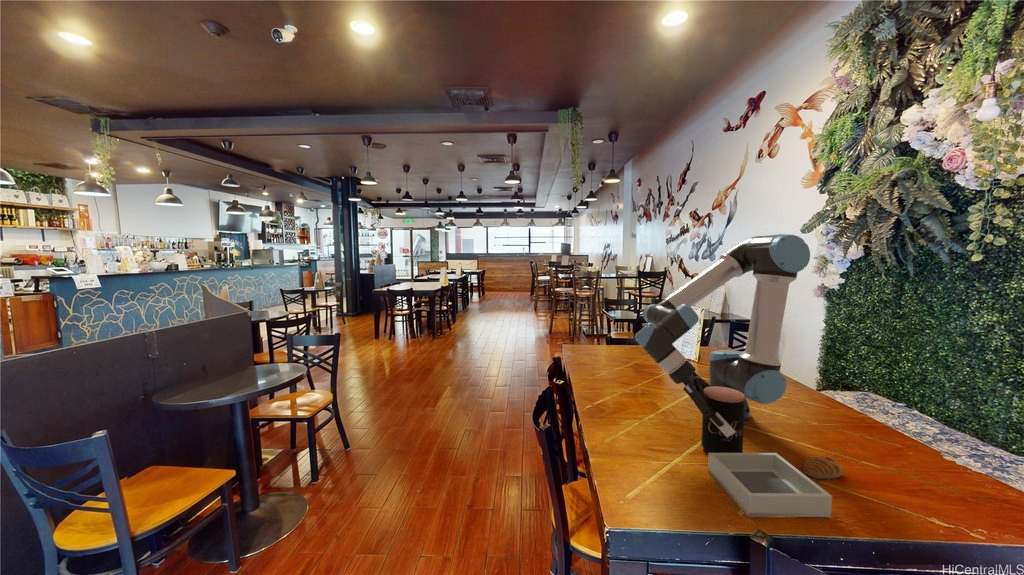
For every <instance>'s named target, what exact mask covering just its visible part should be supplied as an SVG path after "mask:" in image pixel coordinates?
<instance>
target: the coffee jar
mask: <svg viewBox="0 0 1024 575" xmlns="http://www.w3.org/2000/svg"><path fill="white" fill-rule="evenodd" d="M703 391H704V394H705V397H706V398H707V400H708V401H709V403H710V404H711V406H712V407H713V409H714V411H715V412H718V413H719V414H720V416H721V417H722V418H723V419H724V420H725V421H726V422H727V423H728V424H729V425H730V426H731V427H732V428H733V429H734V430H735V431H736V433H734V434H732V435H731V436H729V437H726V436H725V435H724V434H723V432H722V431H721V430H720V429H719V428H718V427H717V426H716V425H715V424H714V423H713V422H712V421H711V420H710V418H709V419H707V420H706V419H705V418H704V416H703V415H702V417H701V419H702V421H701V422H702V424H701V425H702V426H701V446H702V447H703V450H704V451H705V452H706V453H707V454H708V453H744V452H743V450H744V430H745V424H744V423H745V421H744V408H745V405H744V402H743V400H745V395H744V394H743V393H742V392H740V391H738V390H735V389H731V388H727V387H719V386H711V387H706V388H704V390H703ZM708 412H709V411H708Z"/></svg>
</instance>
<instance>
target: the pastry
mask: <svg viewBox="0 0 1024 575" xmlns="http://www.w3.org/2000/svg"><path fill="white" fill-rule="evenodd" d="M802 473H803V474H804V475H806V476H809V477H812V478H814V479H816V480H831V478H832V479H836V478H839V477H841V476H842V475H843V474H844V471H843V469H842V467H841V466H840V465H839V462H838V461H837V460H836V459H834V458H833V457H830V456H824V455H819V456H817V457H815V456H814V457H811V458H809V459H807V460H806V461H805V462H804V464H803V466H802Z"/></svg>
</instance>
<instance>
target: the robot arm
mask: <svg viewBox="0 0 1024 575" xmlns="http://www.w3.org/2000/svg"><path fill="white" fill-rule="evenodd" d="M718 259H719V260H718V261H717V262H714V263H713V264H712V265H710V266H709V267H708V268H706V269H705V270H704V271H702V272H701V273H699V274H698V275H696V276H695V277H694V278H692V279H691V280H690V281H688V282H687V283H686V284H684V285H682V286H680V287H679V288H678V289H677V290H676V291H674V292H672V293H671V294H670V295H668V296H667V297H665V298H664V299H663V300H661V301H660V302H658V303H657V304H656V303H653V304H652V303H651V304H649V305H647V306H646V307H645V309H644V310H643V319H644V321H645V322H646V323H647V324H646V325H645V326H643V327H642V328H641V329H640V330H639V331H638V332H636V333H635V335H634V339H635V341H636V342H637V343H638V345H639V346H640V347H641V348H642V350H644V351H645V353H647V354H648V356H649V357H651V358H652V359H653V361H655V363H656V364H657V365H658V369H662V370H663V371H664V372H665V374H668V377H669V378H670V379H671V380H672V381H673V382H674V384H675V385H679V384H683V385H684V387H683V388H682V389H683V391H684V392H685V393H686V394H687V395H688V396H689V397H690V399H691V401H692V402H693V403H694V405H695V406H696V407H697V409H698V410H699V412H700V413H701V414H702V416H704V418H705V419H706V420H707V419H709V418H710V420H711V421H712V422H713V423H714V424H715V425H716V426H717V427H718V428H719V429H720V430H721V431H722V432H723V434H724V435H725V436H726V437H729V436H731V435H732V434H734V433H736V431H735V430H734V429H733V428H732V427H731V426H730V425H729V424H728V423H727V422H726V421H725V420H724V419H723V418H722V417H721V416H720V414H719V413H718V412H715V411H714V409H713V407H712V406H711V404H710V403H709V401H708V400H707V398H706V397H705V394H704V391H703V390H704V388H706V387H711V386H719V387H727V388H731V389H735V390H738V391H740V392H742V393H743V394H744V395H745V400H743V402H744V405H745V408H744V422H745V421H747V420H749V419H750V418H751V408H750V405H749V403H748V400H750V401H752V402H755V403H758V404H761V405H768V404H769V405H770V404H772V403H775V402H777V400H780V399H781V398H782V397H783V396H784V395H785V393H786V390H787V388H788V382H787V378H786V377H785V375H784V374H783V373H782V372H780V371H781V366H782V363H781V362H780V361H779V359H778V358H777V354H778V350H779V343H780V340H781V339H780V337H781V334H782V328H783V322H784V316H785V310H786V305H787V299H788V293H789V288H790V284H791V283H793V282H794V281H796V280H797V277H798V273H799V272H801V271H803V270H804V269H805V268H807V266H808V265H809V263H810V259H811V251H810V247H809V245H808V244H807V242H805V240H804V239H803V238H802V237H800V236H798V235H795V234H784V233H783V234H781V233H779V234H771V235H759V236H758V235H755V236H752V237H749V238H747V239H745V240H743V241H741V242H739V243H737V244H735V245H734V246H732V247H731V248H729V249H728V250H727V251H725V252H724V253H723V254H721V255H720V256H719V258H718ZM749 272H752V276H753V277H754V278H755V279H756V284H755V291H754V296H753V303H752V307H751V308H752V309H751V314H750V320H749V326H748V332H747V338H746V343H745V350H744V351H739V350H732V349H731V350H730V349H729V350H728V349H727V350H726V349H723V350H722V349H720V350H714V351H711V353H710V354H709V369H708V370H709V372H708V373H709V374H708V382H706V381H705V380H704V379H703V378H702V377H700V376H699V375H698V374H697V372H696V367H695V366H694V365H693V364H692V363H691V362H690V361H689V360H686V356H685V355H683V354H682V353H681V352H680V351H679V349H677V348H676V347H675V346H674V343H675V342H677V340H679V339H680V338H681V337H682V336H684V335H685V334H686V333H688V332H689V331H691V329H693V327H694V326H695V325H696V324H697V323H698V322H699V320H700V318H699V315H698V314H697V312H696V311H695V310H694V309H693V308H692V307H693V306H695V305H696V304H697V303H699V302H700V301H702V300H704V299H705V298H707V297H708V296H709V295H711V294H712V293H713V292H715V291H716V290H717V289H719V288H720V287H722V286H723V285H725V284H726V283H727V282H729V281H731V280H732V279H734V278H740V277H741V276H743V275H745V274H747V273H749ZM708 411H709V412H708Z"/></svg>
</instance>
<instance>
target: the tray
mask: <svg viewBox="0 0 1024 575" xmlns="http://www.w3.org/2000/svg"><path fill="white" fill-rule="evenodd" d="M707 456H708V457H707V472H709V474H710V473H711V474H710V475H711V476H712V477H713V478H714V480H715V481H716V482H717V483H718V484H719V485H720V486H721V488H722V489H723V490H724V491H725V492H726V493H727V494H728V496H729V497H730V498H731V499H732V501H734V502H735V503H737V504H736V505H737V506H738V508H740V509H741V511H742V512H743V511H744V512H743V513H744V514H745V515H746V516H747V517H748V518H767V517H766V516H794V517H793V518H795V516H797V517H826V518H827V517H829V518H827V519H830V518H832V505H833V495H831V494H830V493H829V492H827V491H826V490H825V489H824V488H823V487H821V486H820V485H818V484H817V483H816V482H815V481H813V480H812V479H810V478H809V477H808V475H806V474H805V473H803V472H802V471H800V470H799V469H798V468H796V467H795V466H794V465H793V464H791V463H790V461H789V462H788V460H786V459H785V458H783V456H781V455H779V453H777V452H743V453H707Z"/></svg>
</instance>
